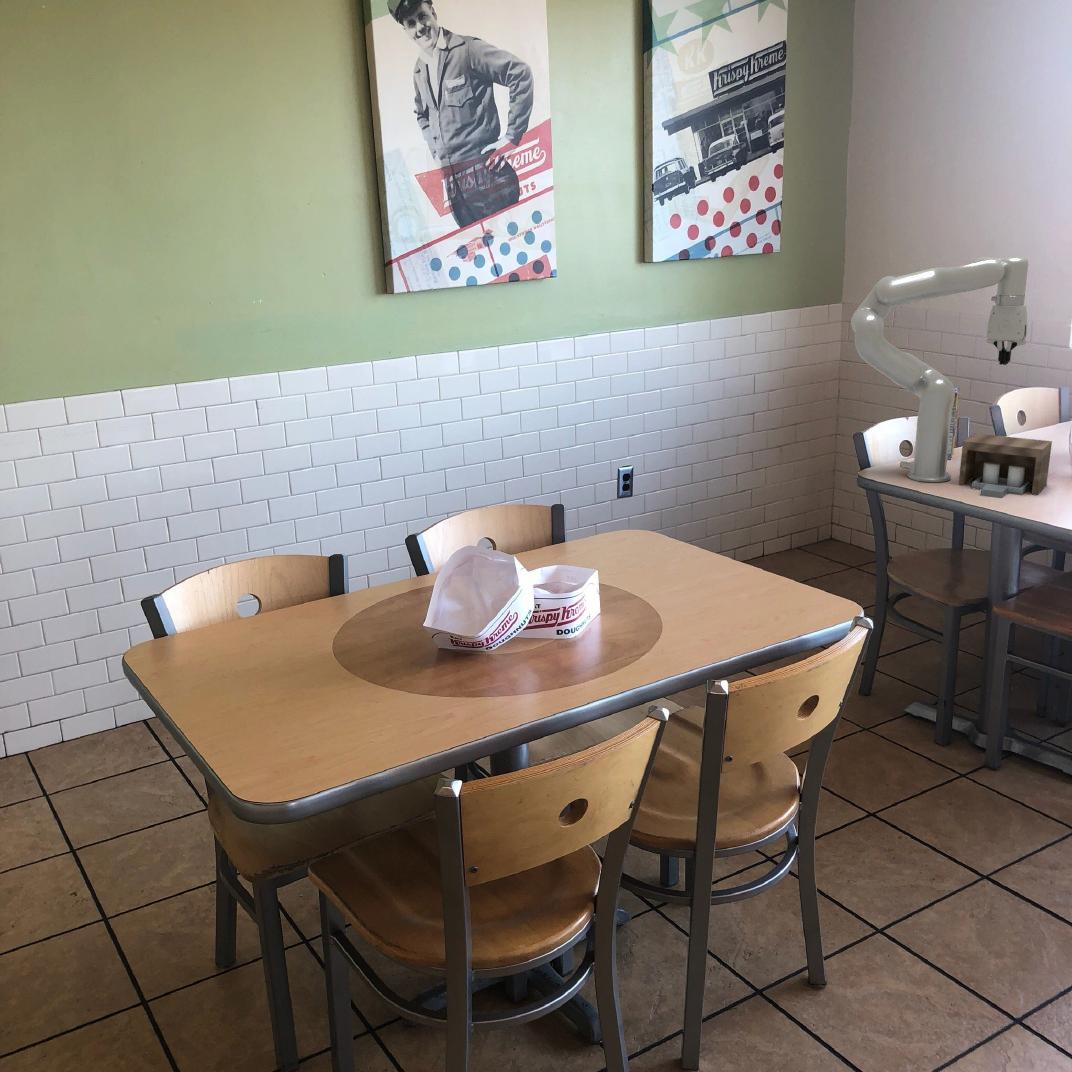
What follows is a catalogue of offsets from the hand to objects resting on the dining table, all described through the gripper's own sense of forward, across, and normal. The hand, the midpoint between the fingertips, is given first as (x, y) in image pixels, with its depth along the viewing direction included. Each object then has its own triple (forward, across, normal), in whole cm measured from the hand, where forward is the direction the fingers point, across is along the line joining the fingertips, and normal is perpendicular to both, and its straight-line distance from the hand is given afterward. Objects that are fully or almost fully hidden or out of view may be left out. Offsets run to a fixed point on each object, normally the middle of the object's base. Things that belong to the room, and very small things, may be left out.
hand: (1003, 363), depth 313 cm
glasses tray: (+35, +6, -12) cm, 38 cm away
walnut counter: (+35, +5, -6) cm, 36 cm away
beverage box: (+35, -23, +20) cm, 46 cm away
